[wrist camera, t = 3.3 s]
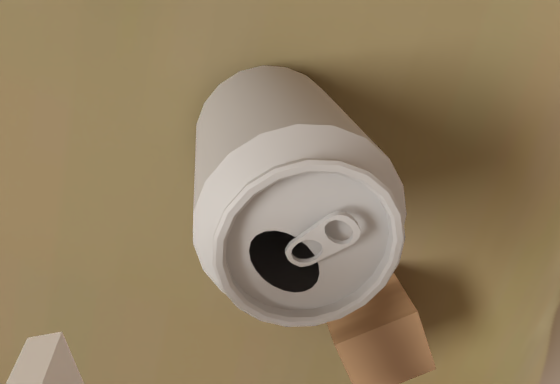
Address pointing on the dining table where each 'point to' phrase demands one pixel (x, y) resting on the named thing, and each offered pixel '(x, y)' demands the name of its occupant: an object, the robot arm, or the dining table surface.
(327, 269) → the can
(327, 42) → the dining table surface
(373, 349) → the walnut block
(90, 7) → the dining table surface
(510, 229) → the dining table surface
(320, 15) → the dining table surface
